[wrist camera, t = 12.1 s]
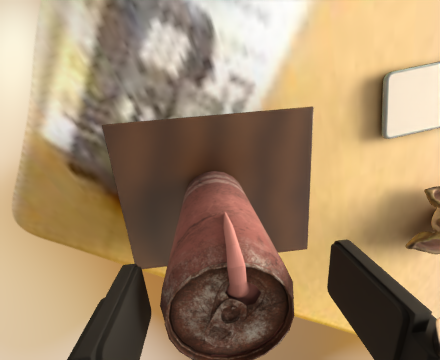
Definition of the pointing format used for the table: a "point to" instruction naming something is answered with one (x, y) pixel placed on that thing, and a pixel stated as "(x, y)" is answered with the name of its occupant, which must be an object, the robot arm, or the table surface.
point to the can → (224, 277)
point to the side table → (212, 161)
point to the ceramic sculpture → (429, 240)
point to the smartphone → (411, 101)
